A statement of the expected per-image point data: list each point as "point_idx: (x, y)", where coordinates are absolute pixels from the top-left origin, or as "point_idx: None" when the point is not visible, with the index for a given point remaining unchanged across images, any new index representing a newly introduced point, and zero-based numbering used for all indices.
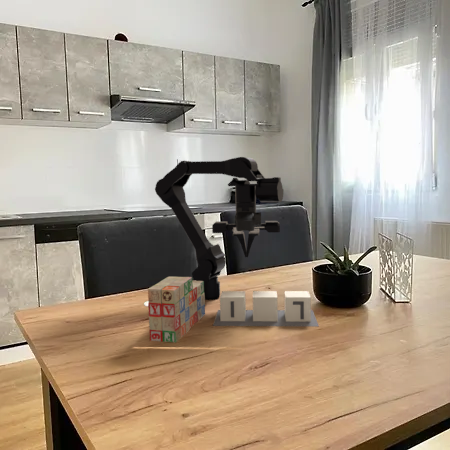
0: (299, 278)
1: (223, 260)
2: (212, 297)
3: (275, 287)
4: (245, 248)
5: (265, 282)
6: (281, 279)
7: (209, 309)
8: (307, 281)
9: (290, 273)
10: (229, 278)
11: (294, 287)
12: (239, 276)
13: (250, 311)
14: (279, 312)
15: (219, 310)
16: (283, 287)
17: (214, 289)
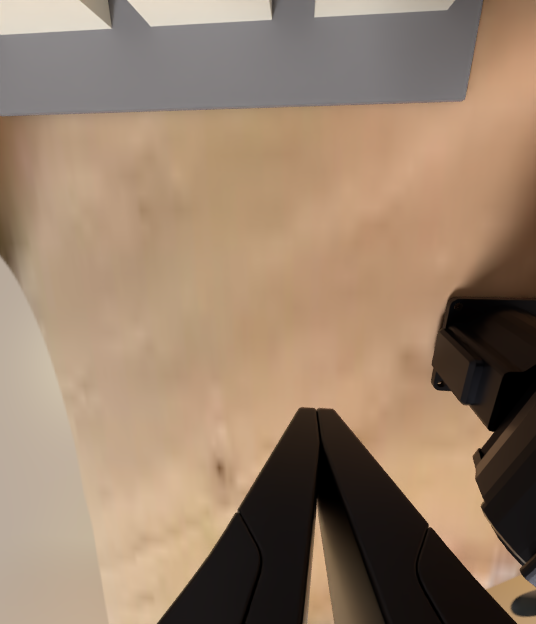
0: (125, 565)
1: (523, 501)
2: (475, 316)
3: (197, 476)
4: (342, 486)
5: None
6: (183, 561)
7: (504, 143)
8: (94, 533)
9: (160, 616)
10: None
11: (128, 471)
12: None
13: (288, 74)
14: (140, 61)
15: (458, 87)
16: (168, 474)
17: (483, 340)
